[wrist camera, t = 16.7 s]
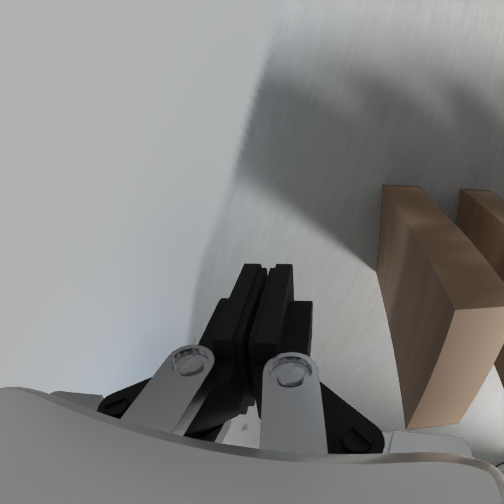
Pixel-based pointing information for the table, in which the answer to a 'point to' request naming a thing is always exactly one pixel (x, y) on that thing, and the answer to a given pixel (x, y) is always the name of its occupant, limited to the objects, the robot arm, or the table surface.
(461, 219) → the domino
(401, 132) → the table surface
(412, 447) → the robot arm
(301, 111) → the table surface
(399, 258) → the domino
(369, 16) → the table surface
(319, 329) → the table surface
